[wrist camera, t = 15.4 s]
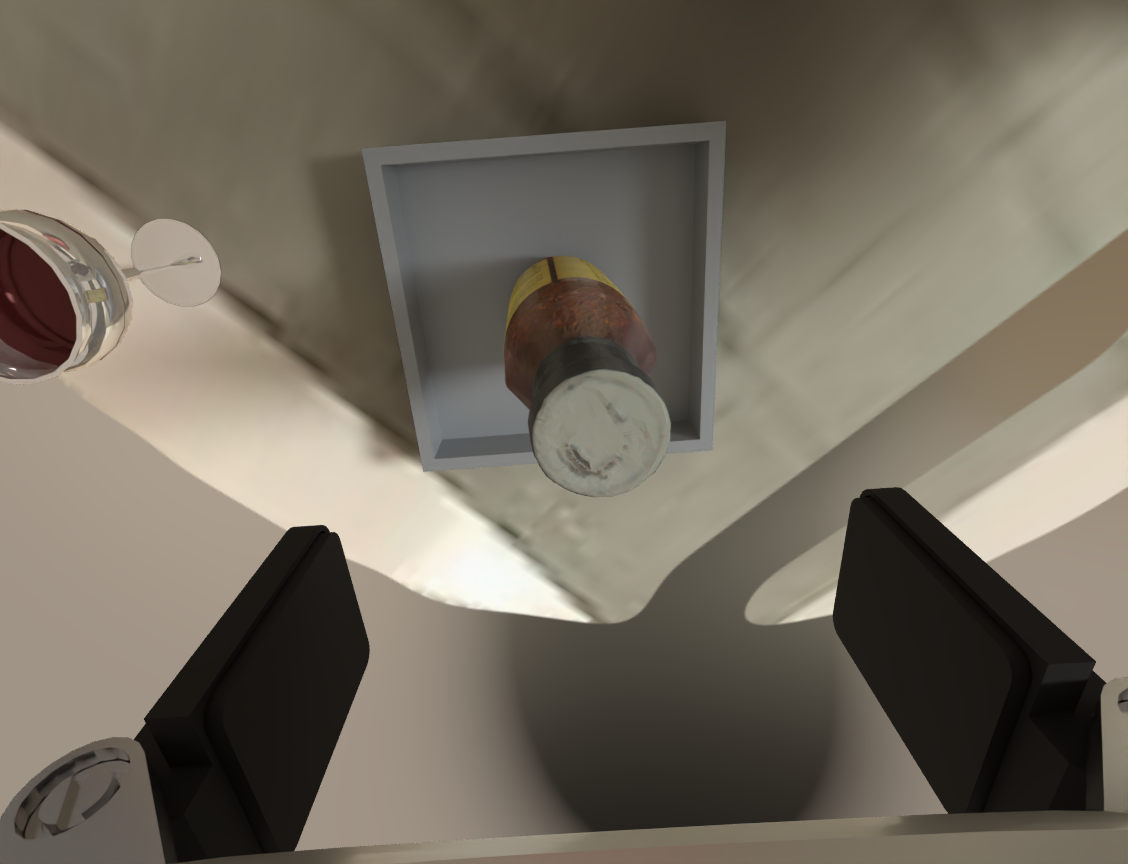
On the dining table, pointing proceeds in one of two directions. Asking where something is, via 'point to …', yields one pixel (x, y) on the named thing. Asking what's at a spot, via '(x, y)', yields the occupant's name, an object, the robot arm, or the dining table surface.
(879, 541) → the robot arm
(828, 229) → the dining table surface
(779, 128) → the dining table surface
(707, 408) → the parts tray
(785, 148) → the dining table surface
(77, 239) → the wineglass
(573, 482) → the sauce bottle
